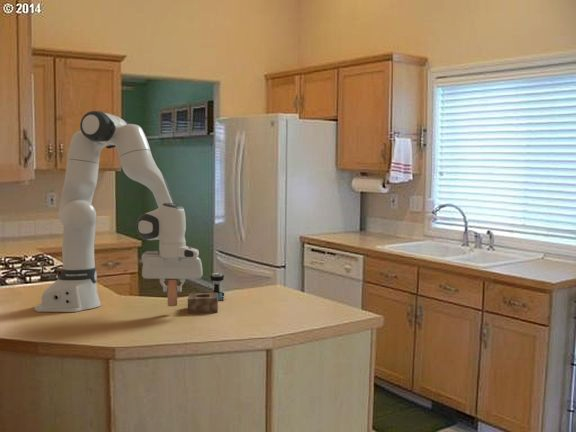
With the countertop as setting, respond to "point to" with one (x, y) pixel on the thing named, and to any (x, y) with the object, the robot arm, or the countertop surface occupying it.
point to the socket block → (203, 303)
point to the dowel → (172, 292)
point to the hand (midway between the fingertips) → (172, 291)
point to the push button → (218, 284)
